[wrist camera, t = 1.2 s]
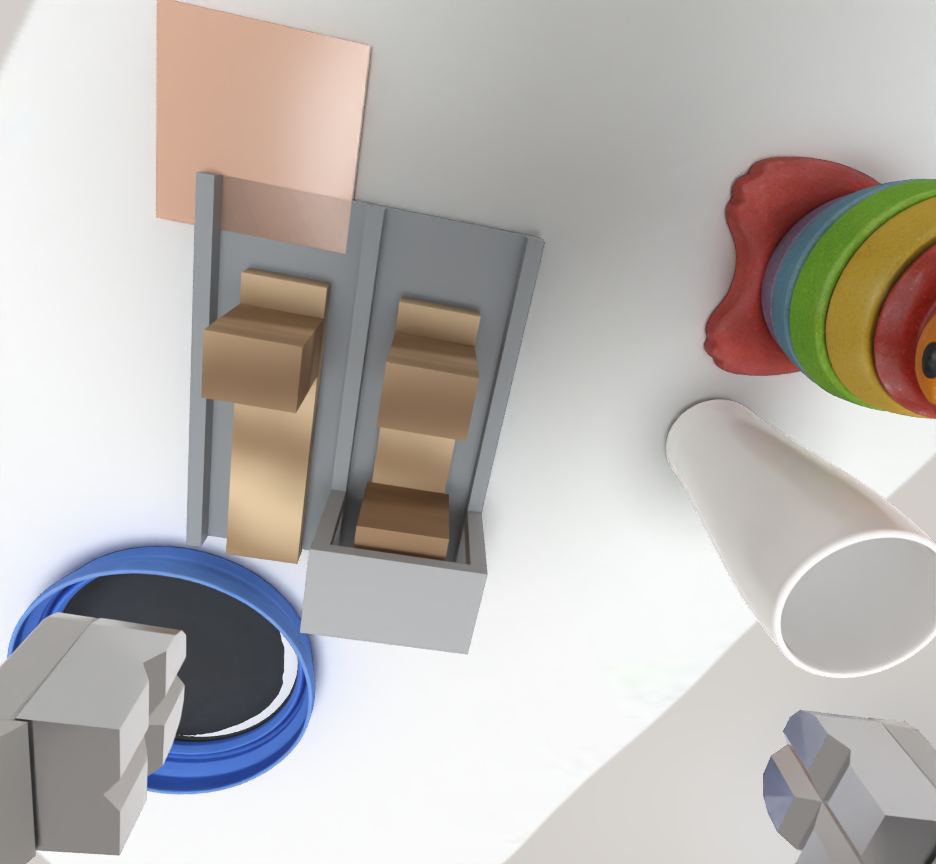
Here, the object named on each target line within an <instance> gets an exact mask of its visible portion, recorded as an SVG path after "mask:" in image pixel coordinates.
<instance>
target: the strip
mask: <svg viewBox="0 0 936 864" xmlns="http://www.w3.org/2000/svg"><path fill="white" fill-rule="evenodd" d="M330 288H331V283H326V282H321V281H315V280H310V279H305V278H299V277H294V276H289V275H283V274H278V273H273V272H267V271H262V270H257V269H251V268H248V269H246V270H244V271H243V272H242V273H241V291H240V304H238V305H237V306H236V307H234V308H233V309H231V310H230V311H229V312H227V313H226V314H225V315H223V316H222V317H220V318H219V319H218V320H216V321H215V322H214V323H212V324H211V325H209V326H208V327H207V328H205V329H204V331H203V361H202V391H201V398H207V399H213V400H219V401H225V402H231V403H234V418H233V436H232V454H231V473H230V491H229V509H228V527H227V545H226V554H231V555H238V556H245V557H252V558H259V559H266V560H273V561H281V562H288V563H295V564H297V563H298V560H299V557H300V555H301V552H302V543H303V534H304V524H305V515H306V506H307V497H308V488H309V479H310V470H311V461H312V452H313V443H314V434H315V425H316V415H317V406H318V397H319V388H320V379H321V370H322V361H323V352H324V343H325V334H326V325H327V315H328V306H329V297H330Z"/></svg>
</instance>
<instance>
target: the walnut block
mask: <svg viewBox="0 0 936 864" xmlns="http://www.w3.org/2000/svg"><path fill="white" fill-rule="evenodd" d="M448 543H449V494H444V493H438V492H431V491H425V490H418V489H412V488H406V487H399V486H393V485H386V484H380V483H374V482H367V485H366V489H365V493H364V497H363V501H362V506H361V510H360V514H359V518H358V522H357V527H356V534H355V540H354V547H353V548H358V549H364V550H371V551H378V552H385V553H392V554H399V555H406V556H413V557H420V558H426V559H433V560H440V561H445V557H446V552H447V547H448Z"/></svg>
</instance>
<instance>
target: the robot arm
mask: <svg viewBox="0 0 936 864" xmlns="http://www.w3.org/2000/svg"><path fill="white" fill-rule="evenodd" d="M185 658H186V634H185V633H184V632H183V631H182V630H177V629H170V628H164V627H157V626H150V625H144V624H137V623H131V622H124V621H118V620H111V619H105V618H100V619H97V618H93V617H86V616H80V615H73V614H66V613H60V612H57V613H54V614H52V615H50V616H48V617H46V618H45V619H43V620H42V622H41V623H40V624H39V625H38V626H37V627H36V628H35V629H34V630H33V631H32V632H31V634H30V635H29V636H28V637H27V638H26V639H25V640H24V641H23V642H22V643H21V644H20V646H19V647H18V648H17V649H16V650H15V651H14V652H13V653H12V654H11V655H10V656H9V658H8V659H7V660H6V661H5V662H4V663H3V664H2V665H1V666H0V864H26V863H27V862H29V861H30V860H31V859H32V858H33V857H35V855H36V850H40V851H56V852H73V853H89V854H105V855H120V854H121V852H122V849H123V847H124V845H125V843H126V841H127V839H128V837H129V835H130V833H131V831H132V829H133V827H134V825H135V823H136V821H137V818H138V816H139V814H140V812H141V810H142V808H143V806H144V804H145V802H146V799H147V777H148V776H149V775H151V774H152V773H153V772H155V771H156V770H158V769H159V768H161V767H162V766H163V764H164V762H165V760H166V758H167V755H168V753H169V751H170V749H171V747H172V744H173V741H174V738H175V735H176V732H177V729H178V725H179V722H180V719H181V713H182V707H183V702H184V687H185V685H184V684H183V682H182V681H181V680H180V678H179V677H178V676H177V673H178V671H179V669H180V667H181V665H182V663H183V661H184V660H185ZM783 732H784V735H785V738H786V741H787V745H786V746H785V747H783V748H782V749H780V750H779V751H777V752H776V753H774V754H773V755H772V756H771V757H770V760H769V762H768V765H767V767H766V769H765V772H764V774H763V796H764V800H765V804H766V808H767V812H768V814H769V816H770V818H771V820H772V822H773V824H774V826H775V828H776V830H777V832H778V833H779V834H780V835H781V836H782V837H784V838H785V839H786V840H787V841H788V842H789V843H790V844H791V845H793V847H795V848H796V849H797V851H796V858H795V864H936V750H935V749H934V748H933V746H932V745H931V744H930V743H929V742H928V741H927V740H926V738H925V737H924V736H923V735H922V734H921V733H920V732H919V730H917V729H916V728H914V727H913V726H911V725H909V724H908V723H906V722H904V721H896V720H886V719H876V718H862V717H854V716H846V715H837V714H828V713H821V712H812V711H804V710H799V711H798V712H797V713H795V714H794V715H793V716H791V717H790V719H789V721H788V722H787V725H786V727H785V728H784V730H783Z"/></svg>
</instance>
